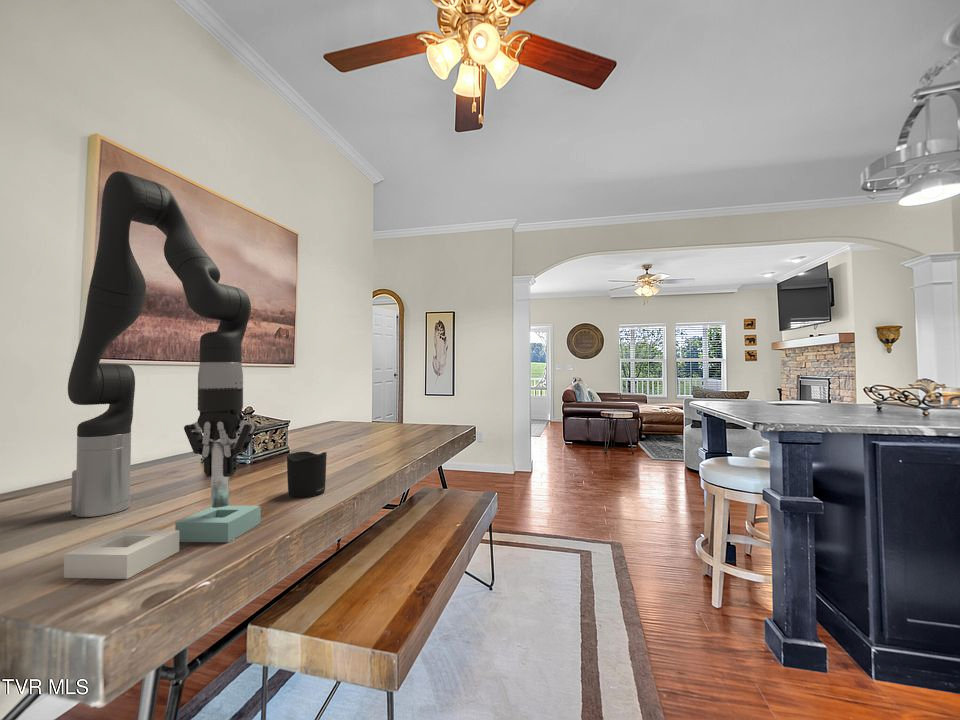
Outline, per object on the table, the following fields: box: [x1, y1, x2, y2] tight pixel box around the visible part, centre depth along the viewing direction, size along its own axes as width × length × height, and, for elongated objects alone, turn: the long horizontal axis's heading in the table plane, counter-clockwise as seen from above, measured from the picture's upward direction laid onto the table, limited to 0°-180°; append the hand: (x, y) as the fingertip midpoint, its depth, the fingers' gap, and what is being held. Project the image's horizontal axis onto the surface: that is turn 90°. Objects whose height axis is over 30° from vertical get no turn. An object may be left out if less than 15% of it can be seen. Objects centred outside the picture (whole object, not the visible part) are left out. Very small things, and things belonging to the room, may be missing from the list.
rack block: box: [174, 505, 262, 543], centre depth 82 cm, size 10×10×4 cm
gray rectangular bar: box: [210, 440, 230, 508], centre depth 82 cm, size 3×3×12 cm
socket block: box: [63, 529, 180, 580], centre depth 68 cm, size 10×10×4 cm
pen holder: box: [286, 451, 328, 499], centre depth 109 cm, size 9×9×10 cm
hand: (220, 475), depth 82 cm, fingers closed on gray rectangular bar, 3 cm apart
